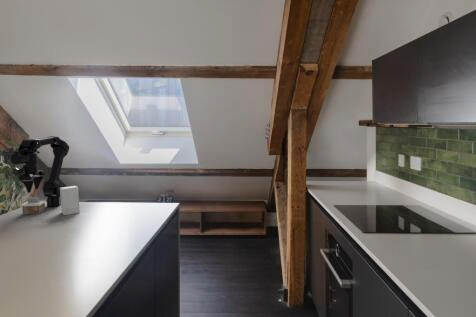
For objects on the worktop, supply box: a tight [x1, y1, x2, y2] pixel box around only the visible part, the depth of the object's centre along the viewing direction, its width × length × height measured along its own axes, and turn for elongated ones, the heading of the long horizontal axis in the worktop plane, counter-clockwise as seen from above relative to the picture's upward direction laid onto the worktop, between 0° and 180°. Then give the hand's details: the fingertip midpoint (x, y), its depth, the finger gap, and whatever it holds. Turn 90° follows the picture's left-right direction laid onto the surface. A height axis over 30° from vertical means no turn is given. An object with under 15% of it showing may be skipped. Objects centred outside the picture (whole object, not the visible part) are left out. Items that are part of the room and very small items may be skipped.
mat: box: [18, 210, 54, 221], centre depth 171 cm, size 11×16×1 cm
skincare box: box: [60, 185, 81, 216], centre depth 176 cm, size 8×6×15 cm
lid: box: [20, 196, 47, 207], centre depth 175 cm, size 9×9×4 cm
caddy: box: [21, 202, 46, 216], centre depth 175 cm, size 8×8×5 cm
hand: (32, 190), depth 174 cm, fingers open, 9 cm apart
